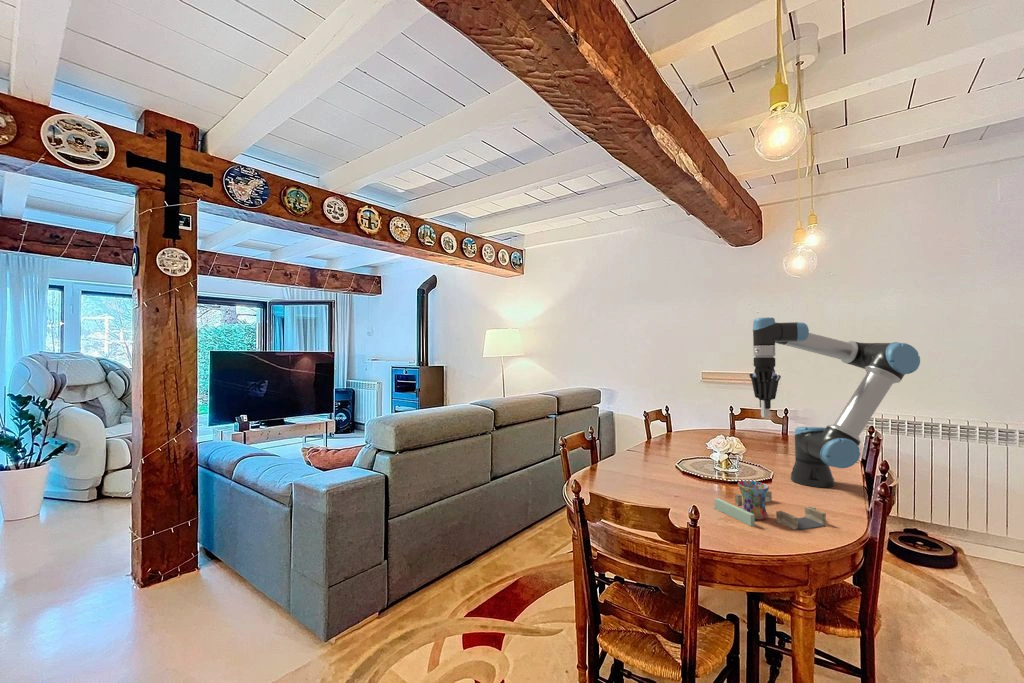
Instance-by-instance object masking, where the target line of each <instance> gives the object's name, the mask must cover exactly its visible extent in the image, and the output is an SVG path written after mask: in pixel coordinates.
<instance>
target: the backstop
mask: <svg viewBox="0 0 1024 683" xmlns="http://www.w3.org/2000/svg"><path fill="white" fill-rule="evenodd" d="M714 509H715V510H717V511H718V512H721V513H723V514H725V515H727V516H729V517H732V518H733V519H735V520H737V521H739V522H742V523H744V524H745V525H747V526H749V527H754V526H756V524H755V523H756V522H755V520H756V519H755V515H754V514H752V513H750V512H748V511H745V510H743V509H741V507H738V506H736V505H734V504H731V503H730V502H728V501H725V500H723V499H720V498H718V497H717V498H714Z"/></svg>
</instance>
